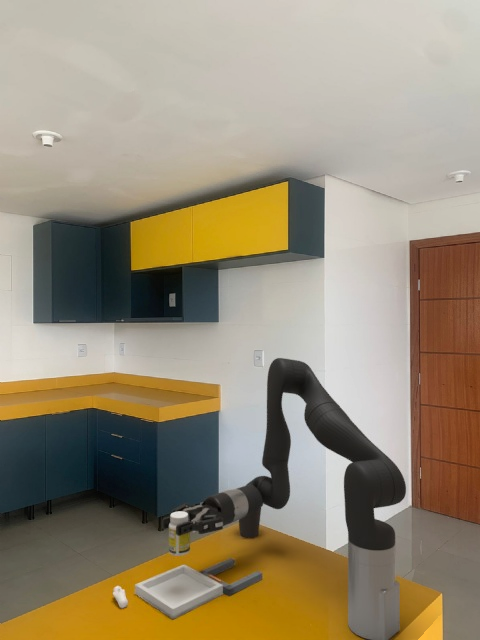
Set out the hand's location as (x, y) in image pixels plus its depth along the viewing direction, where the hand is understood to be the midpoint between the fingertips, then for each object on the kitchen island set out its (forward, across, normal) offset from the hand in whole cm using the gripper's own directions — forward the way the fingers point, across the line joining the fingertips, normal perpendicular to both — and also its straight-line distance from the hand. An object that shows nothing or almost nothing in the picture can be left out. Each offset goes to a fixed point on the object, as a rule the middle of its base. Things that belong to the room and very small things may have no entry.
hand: (169, 527), depth 112 cm
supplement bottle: (-3, 0, +6) cm, 7 cm away
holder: (-15, +3, +16) cm, 22 cm away
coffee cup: (-37, -12, +16) cm, 42 cm away
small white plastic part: (+9, -6, +16) cm, 19 cm away
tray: (-2, 0, +16) cm, 16 cm away
